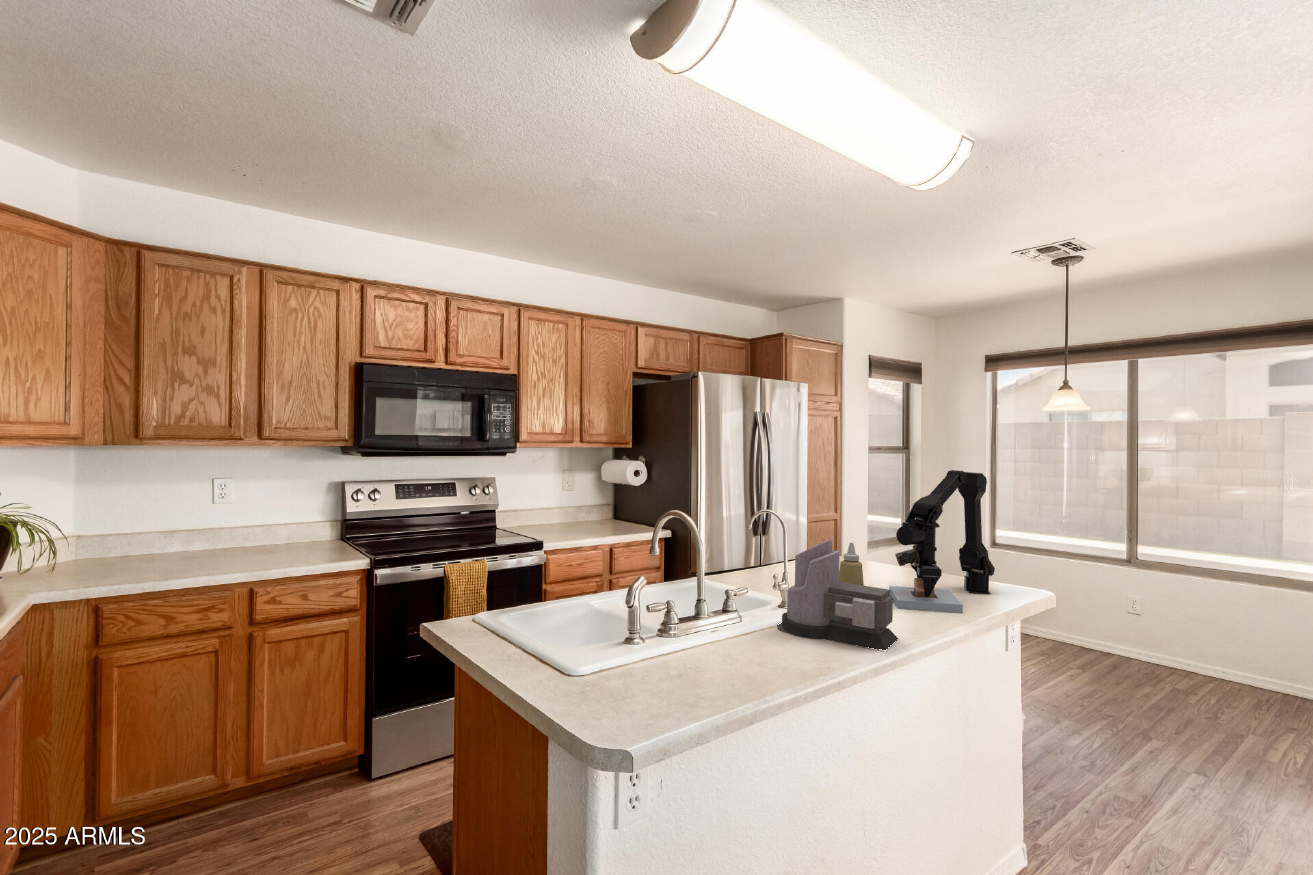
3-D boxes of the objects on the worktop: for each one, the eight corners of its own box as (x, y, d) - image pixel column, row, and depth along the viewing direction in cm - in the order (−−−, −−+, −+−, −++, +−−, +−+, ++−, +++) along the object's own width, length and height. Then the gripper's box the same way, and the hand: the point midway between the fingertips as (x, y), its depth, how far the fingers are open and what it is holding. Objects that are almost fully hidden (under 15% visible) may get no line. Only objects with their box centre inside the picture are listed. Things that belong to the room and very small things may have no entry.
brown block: (930, 598, 199) (931, 578, 199) (934, 602, 194) (934, 582, 194) (913, 596, 200) (914, 577, 200) (916, 600, 195) (917, 581, 195)
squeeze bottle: (846, 596, 204) (847, 539, 203) (869, 601, 197) (870, 543, 197) (831, 600, 199) (832, 542, 198) (854, 605, 192) (855, 546, 192)
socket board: (948, 597, 204) (949, 589, 204) (962, 613, 186) (962, 604, 186) (889, 593, 208) (889, 585, 208) (897, 608, 190) (897, 600, 190)
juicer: (766, 630, 168) (768, 537, 168) (791, 616, 181) (792, 529, 181) (883, 654, 151) (885, 551, 151) (901, 637, 164) (903, 542, 164)
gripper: (893, 536, 208) (892, 584, 208) (902, 546, 189) (901, 599, 190) (930, 538, 205) (928, 586, 205) (942, 548, 187) (941, 601, 187)
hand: (924, 593), depth 197 cm, fingers open, 9 cm apart
